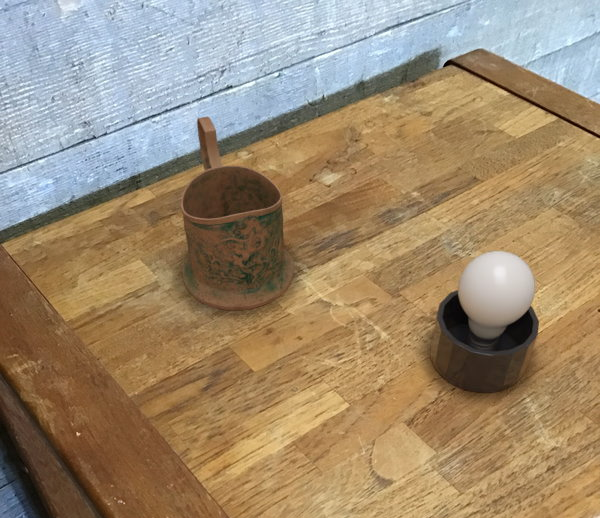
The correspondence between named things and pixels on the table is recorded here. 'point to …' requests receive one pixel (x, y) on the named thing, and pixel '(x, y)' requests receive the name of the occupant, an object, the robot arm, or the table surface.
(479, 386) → the stand
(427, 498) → the table surface
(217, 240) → the mug
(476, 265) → the lightbulb
